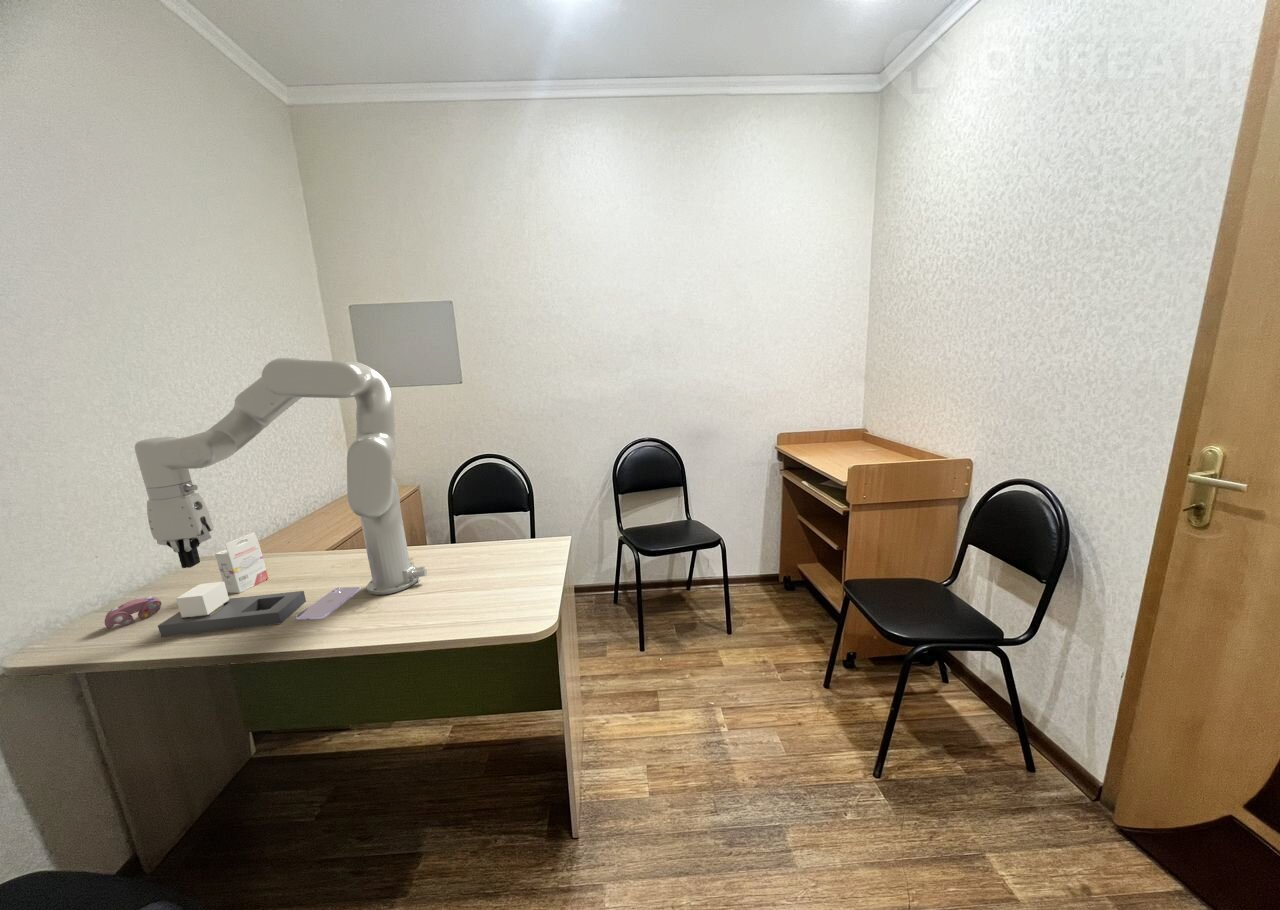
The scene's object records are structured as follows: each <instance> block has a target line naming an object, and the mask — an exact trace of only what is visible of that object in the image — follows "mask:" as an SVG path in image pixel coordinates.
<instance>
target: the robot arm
mask: <svg viewBox="0 0 1280 910" xmlns="http://www.w3.org/2000/svg"><path fill="white" fill-rule="evenodd" d="M393 397H394V396H393V393H392V389H391V387H390V385H389V383H388V382H387V380H386V379H385V378H384V376H382V374H380V373H379V372H378V371H376V369H374V368H372V367H370V366H368V365H366V364H364V363H361V362H359V361H354V360H318V359H317V360H314V359H301V358H300V359H299V358H295V357H281V358H275V359H273V360H271V361H270V362H268V363H267V364H266V365H264V367H263V369H262V371H261V376H260V378H258V379H257V380H255V381H254V382H253V383H252V384H250V385H248V387H247V388H245V389H244V390H243V391H241V392H240V393H239V394H237V395H236V397H235V398H234V406H233V408H232V409H231V411H229V412H228V413H227V414H226V415H225V416H224V417H223V418H222V419H220V420H219V421H218V422H216V423H215V424H214V425H213V426H211V427H210V428H209V429H208V430H205V431H202V432H199V433H196V434H192V435H189V436H184V437H180V438H177V437H175V436H174V437H173V436H163V437H161V436H159V437H152V438H147V439H142V440H139V441H136V443H135V444H134V452H135V456H136V458H137V462H138V466H139V469H140V473H141V476H142V480H143V484H144V486H145V491H146V494H147V496H148V500H146V512H147V513H146V515H147V521H148V525H149V529H150V533H151V535H152V537H153V539H154V540H156V543H157V544H158V545H159V546H168V547H169V548H170V549H172V551H173V552H174V553H177V555H178V558H179V562H180V564H181V568H182V569H187V568H188V569H190V568H192V567H194V566H196V565H198V564H200V562H201V559H200V555H199V551H198V547H200V544H201V543H202V542H207V541H208V540H210V539H212V536H211V534H210V532H212V531H213V530H214V524H213V521H212V518H211V515H210V513H209V510H208V508H207V505H206V503H205V501H204V500H203V497H202V496H201V495H200V493H199V492H195V491H197V490H198V485H197V484H193V482H192V481H193V480H192V478H191V474H190V473H191V472H190V470H195V469H204V468H207V467H210V466H213V465H214V464H216V463H219V462H221V461H224V460H227V459H228V458H230V457H231V456H233V455H234V454H235V453H236V452H238V451H239V450H241V449H242V448H243V447H244V446H245V445H247V444H249V443H250V442H251V441H252V440H253V439H254V438H255V437H257V435H259V434H260V433H261V432H262V431H263V430H264V429H266V428H267V427H268V426H269V425H270V424H271V423H272V422H273V421H274V420H276V419H277V418H278V417H280V416H281V415H282V414H283V413H284V412H286V410H288V409H289V408H291V407H292V406H293V405H294V404H295V403H297V402H298V401H299V400H300V399H303V398H315V399H316V398H321V399H324V398H325V399H326V398H327V399H349V398H354V399H355V402H356V410H355V420H356V436H355V440H354V441H353V442H352V443H351V444H350V446H349V448H348V452H347V456H346V483H347V484H346V486H347V487H346V492H347V494H346V495H347V503H348V506H349V508H350V509H351V511H352V512H353V513H354V514H355V515H357V516H358V517H360V523H361V528H362V534H363V540H364V544H365V549H366V553H367V555H366V556H367V559H368V564H369V569H370V570H369V571H370V573H371V580H370V581H369V582H368V583H367V586H366V590H367V592H368V593H369V594H372V595H377V596H379V595H381V596H382V595H389V594H394V593H398V592H401V591H403V590H407V589H408V588H410V587H412V586H413V585H415V584H416V583H417V582H418V580H420V579H419V578H420V577H421V578H422V577H427V574H428V570H427V568H426V566H424V565H423V566H418V567H416V566H415V562H414V561H410V557H409V551H408V549H409V548H408V544H407V539H406V533H405V528H404V521H403V516H402V514H403V513H402V508H401V499H400V491H399V486H398V483H397V481H396V479H395V478H394V477H393V461H394V459H395V456H396V452H397V451H396V450H397V449H396V448H397V447H396V440H395V439H396V438H395V435H396V433H395V429H396V428H395V427H396V425H395V424H396V423H395V407H394V406H395V405H394V403H395V402H394V398H393ZM189 469H190V470H189Z"/></svg>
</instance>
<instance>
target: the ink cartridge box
mask: <svg viewBox="0 0 1280 910" xmlns="http://www.w3.org/2000/svg"><path fill="white" fill-rule="evenodd" d="M241 541H242V542H241ZM224 545H225V547H226V549H224V550H221V551H218V552H216V553H215V554H214V556H215V559H216V562H217V567H218V569H219V573H220V575H221V579H222V582H225V586H226V590H227V593H228V594H229V593H232V594H241V593H243V592H245V591H247V590H249V589H251V588H253V587H254V586H257V585H259V584H261V583H262V582H264V581H267V580H268V579H269V575H268V572H267V568H266V565H265V560H264V557H263V553H262V549H261V545H260V542H259V540H258V537H257V535H256V532H250V533H248V534H247V535H243V536H240V537H238V538H236V539H234V540H231V541H228V542H226V543H225V544H224ZM266 579H267V580H266Z"/></svg>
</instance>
